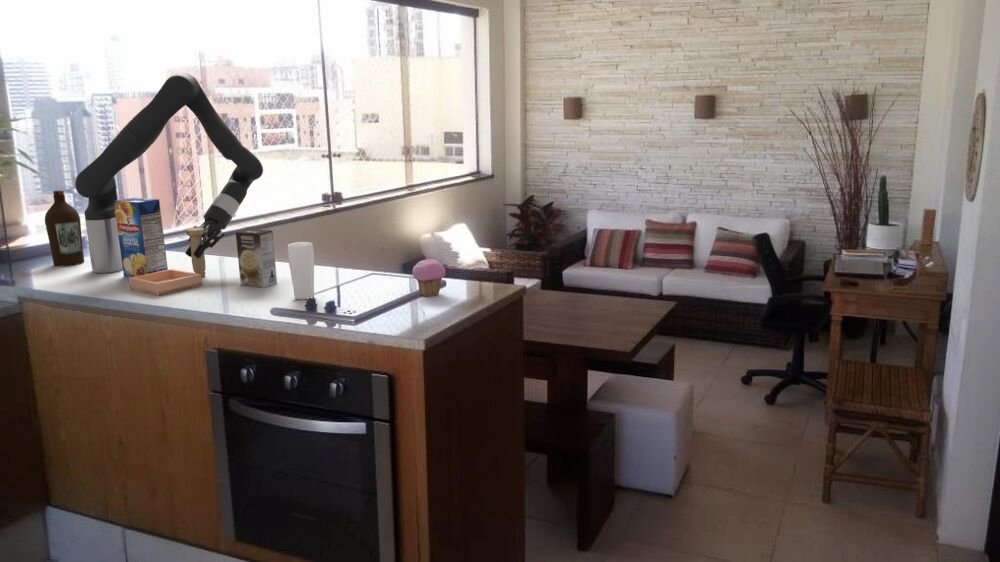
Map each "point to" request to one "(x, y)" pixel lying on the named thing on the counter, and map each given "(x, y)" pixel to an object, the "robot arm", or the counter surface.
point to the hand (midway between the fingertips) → (192, 255)
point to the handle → (195, 240)
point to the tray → (165, 282)
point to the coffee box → (256, 257)
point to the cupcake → (429, 276)
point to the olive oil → (64, 232)
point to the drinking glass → (302, 269)
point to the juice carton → (140, 236)
